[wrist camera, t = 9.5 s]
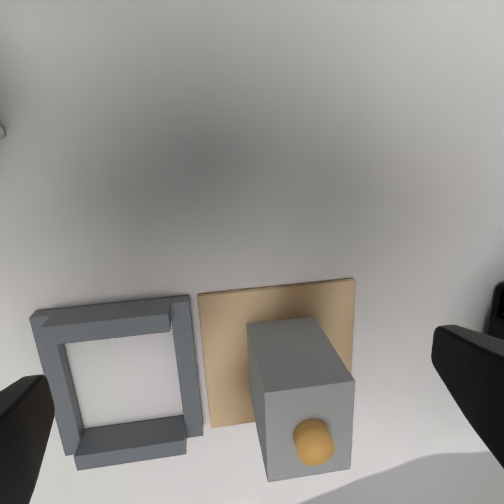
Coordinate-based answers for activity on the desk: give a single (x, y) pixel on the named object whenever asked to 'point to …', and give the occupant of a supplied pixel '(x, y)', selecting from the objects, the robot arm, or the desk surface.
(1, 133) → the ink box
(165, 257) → the desk surface
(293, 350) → the cable plug
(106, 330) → the grey square frame
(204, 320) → the cork pad
